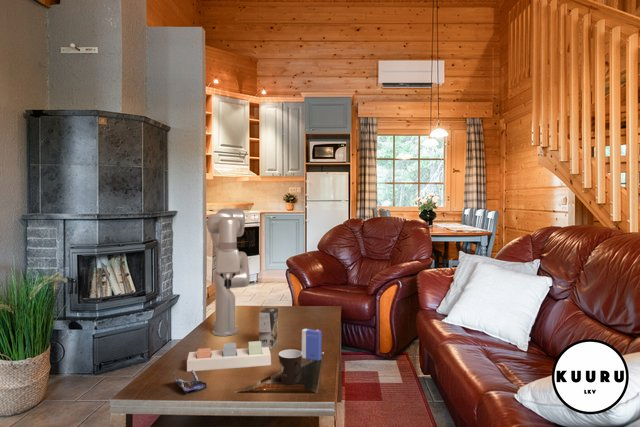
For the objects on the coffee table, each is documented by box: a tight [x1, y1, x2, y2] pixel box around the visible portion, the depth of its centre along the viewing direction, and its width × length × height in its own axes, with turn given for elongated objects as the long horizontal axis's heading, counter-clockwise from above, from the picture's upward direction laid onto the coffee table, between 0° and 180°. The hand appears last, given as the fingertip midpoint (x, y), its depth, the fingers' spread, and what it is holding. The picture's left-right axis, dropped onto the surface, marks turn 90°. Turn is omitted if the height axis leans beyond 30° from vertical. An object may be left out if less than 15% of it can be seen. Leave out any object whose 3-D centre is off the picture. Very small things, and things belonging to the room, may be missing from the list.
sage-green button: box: [247, 340, 262, 355], centre depth 175 cm, size 5×5×5 cm
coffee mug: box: [278, 348, 303, 385], centre depth 155 cm, size 12×9×10 cm
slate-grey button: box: [222, 342, 237, 357], centre depth 173 cm, size 5×5×5 cm
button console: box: [186, 347, 272, 372], centre depth 173 cm, size 32×10×4 cm, turn 102°
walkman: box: [301, 328, 322, 361], centre depth 179 cm, size 8×3×12 cm, turn 66°
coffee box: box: [258, 307, 279, 350], centre depth 194 cm, size 9×6×16 cm
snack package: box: [171, 370, 207, 394], centre depth 151 cm, size 12×6×12 cm
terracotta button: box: [196, 347, 212, 359], centre depth 171 cm, size 5×5×5 cm
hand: (227, 288), depth 188 cm, fingers closed
